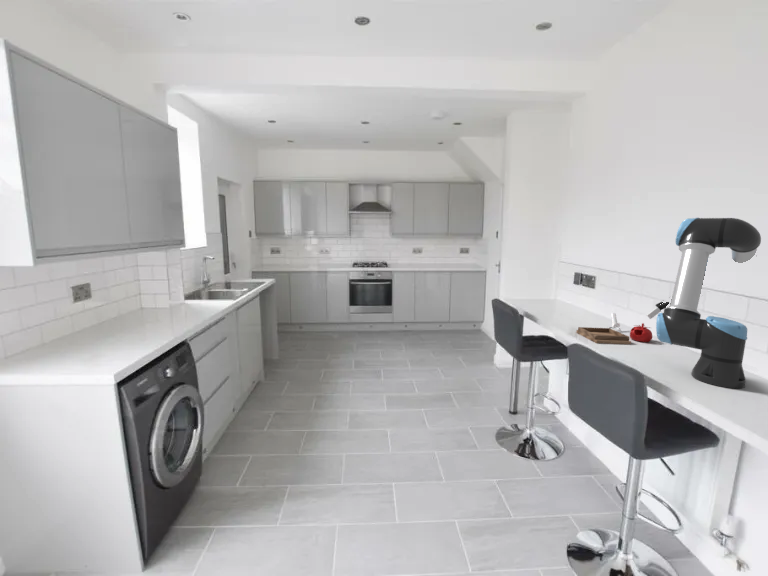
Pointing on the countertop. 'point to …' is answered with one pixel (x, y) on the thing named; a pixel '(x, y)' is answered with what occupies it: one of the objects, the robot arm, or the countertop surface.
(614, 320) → the hook
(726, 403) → the countertop surface
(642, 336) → the pomegranate
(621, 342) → the tray
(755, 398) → the countertop surface
